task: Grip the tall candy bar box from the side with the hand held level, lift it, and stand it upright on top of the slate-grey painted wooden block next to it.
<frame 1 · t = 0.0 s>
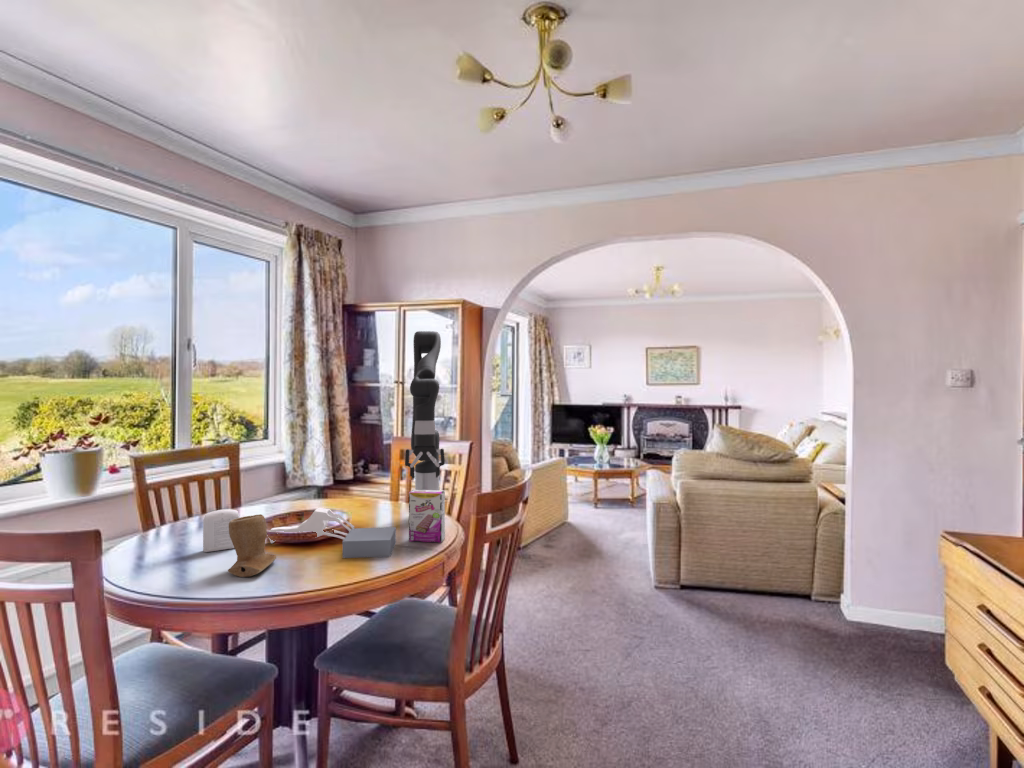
hand: (425, 477, 199), 17 cm above the table, tool pointing down, fingers open, 8 cm apart
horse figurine: (310, 542, 180), on the table
candy bar box: (427, 541, 180), on the table
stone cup: (249, 570, 154), on the table
slate block: (370, 549, 170), on the table
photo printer: (221, 549, 172), on the table
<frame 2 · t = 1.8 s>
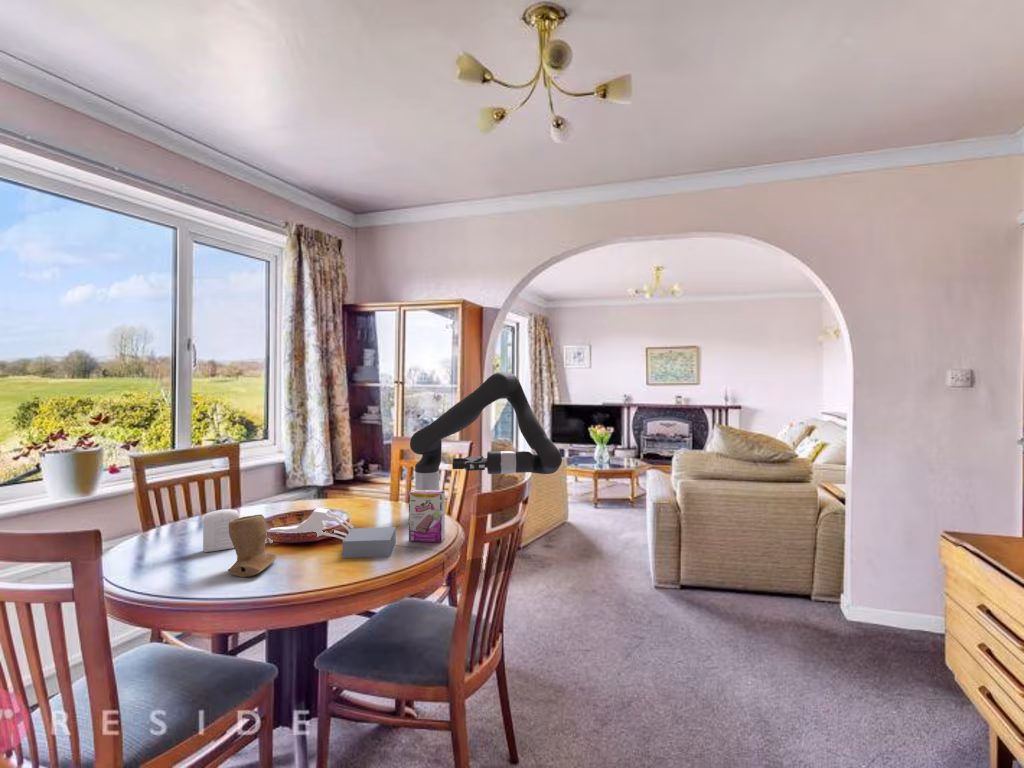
hand: (452, 463, 180), 25 cm above the table, tool horizontal, fingers open, 8 cm apart
nothing on the table moved.
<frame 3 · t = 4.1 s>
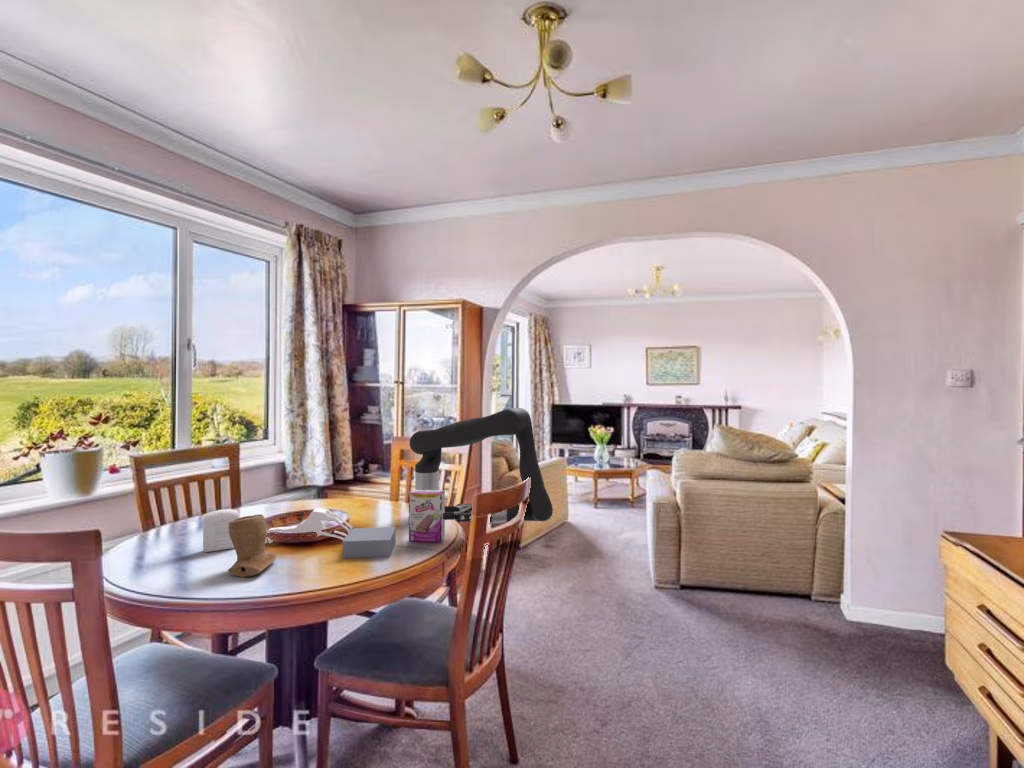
hand: (443, 512, 180), 9 cm above the table, tool horizontal, fingers open, 8 cm apart
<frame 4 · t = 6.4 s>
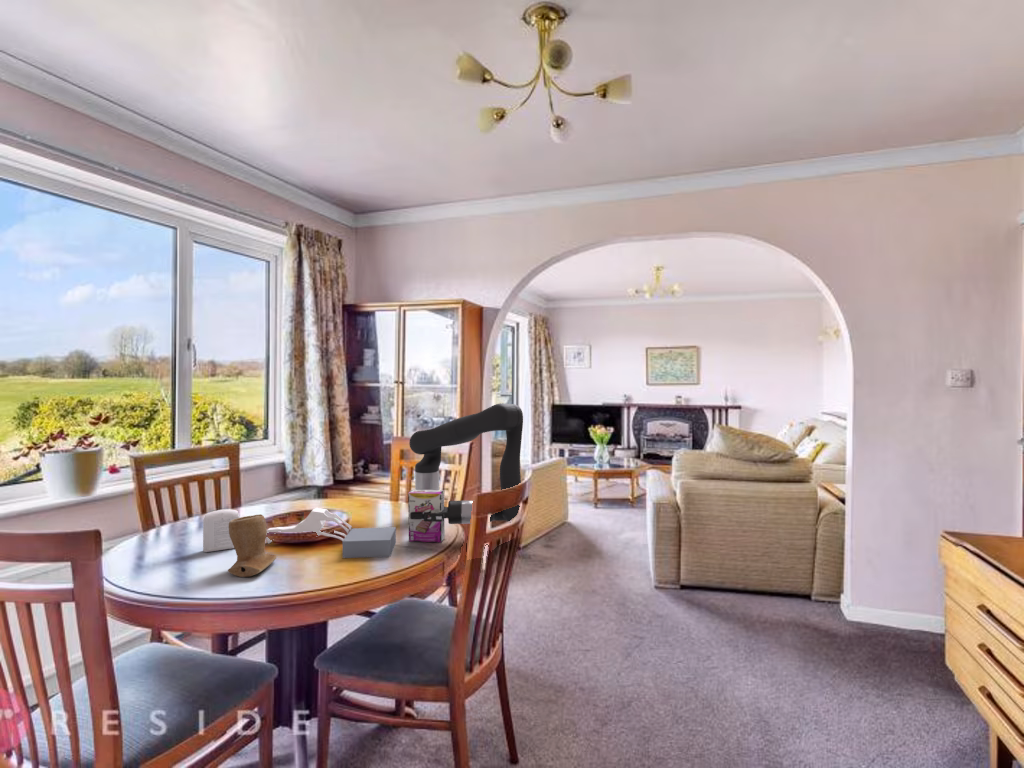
hand: (411, 513, 180), 9 cm above the table, tool horizontal, fingers closed on candy bar box, 5 cm apart
candy bar box: (426, 540, 180), on the table, touching gripper
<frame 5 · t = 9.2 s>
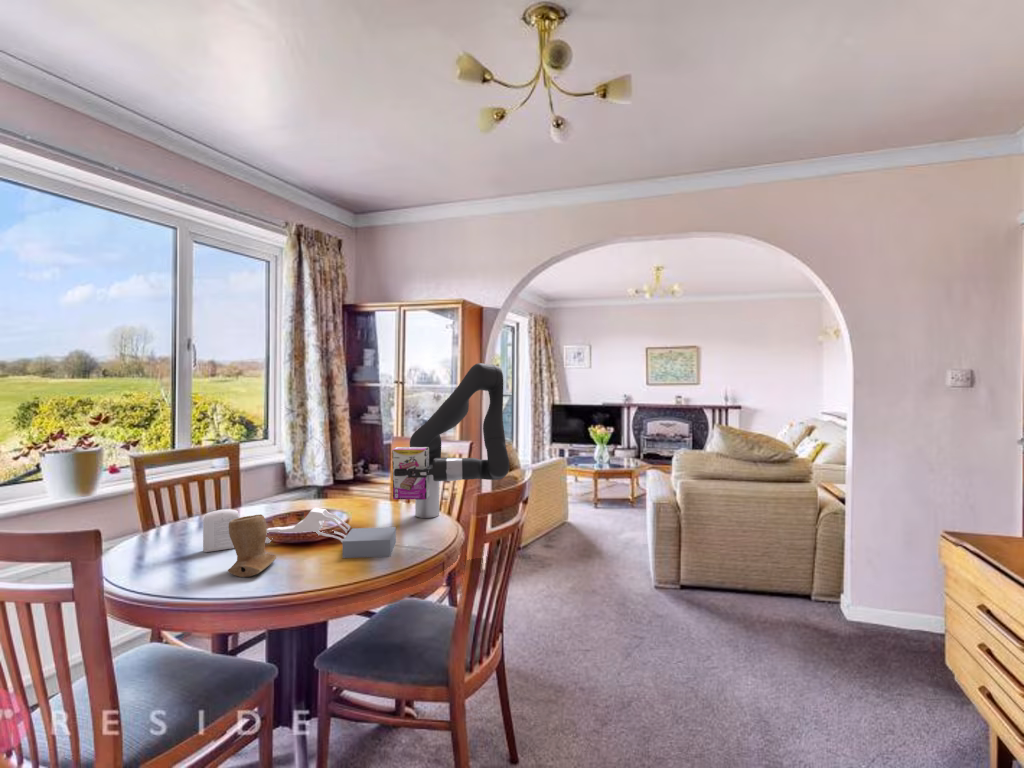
hand: (395, 470, 176), 24 cm above the table, tool horizontal, fingers closed on candy bar box, 5 cm apart
candy bar box: (411, 498, 177), point 15 cm above the table, touching gripper
when the fingers open (15 cm above the table, at t = 12.1 s): candy bar box drops 1 cm, resting on slate block.
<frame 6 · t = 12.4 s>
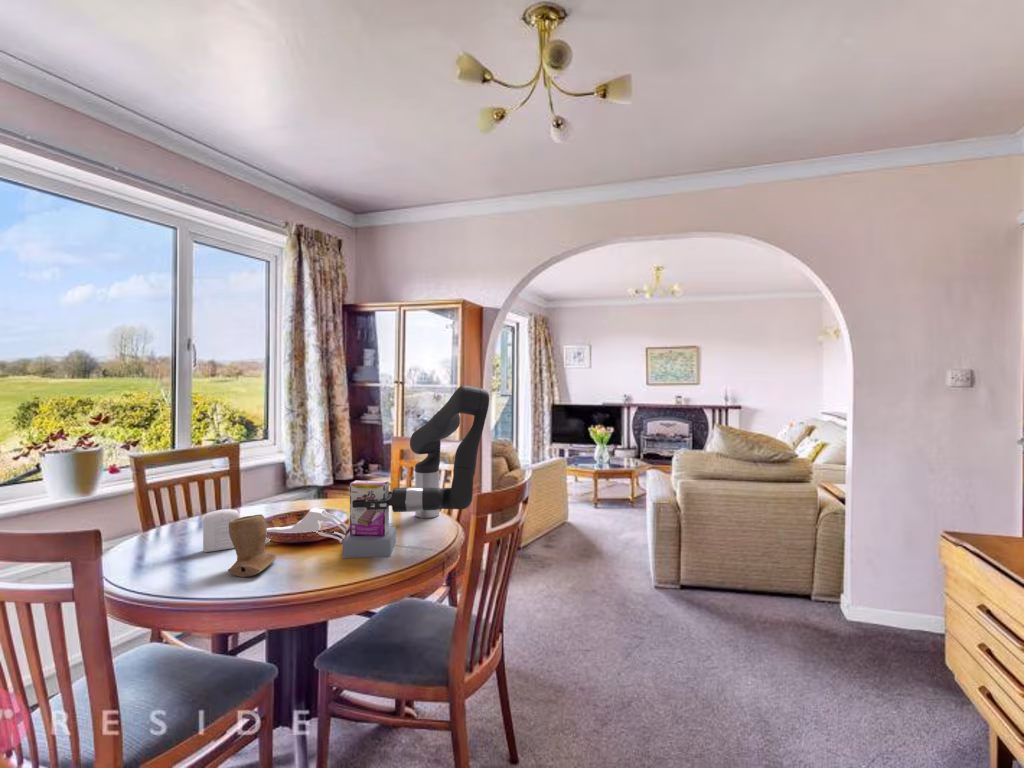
hand: (355, 500, 170), 16 cm above the table, tool horizontal, fingers open, 8 cm apart
candy bar box: (369, 534, 170), point 5 cm above the table, touching slate block
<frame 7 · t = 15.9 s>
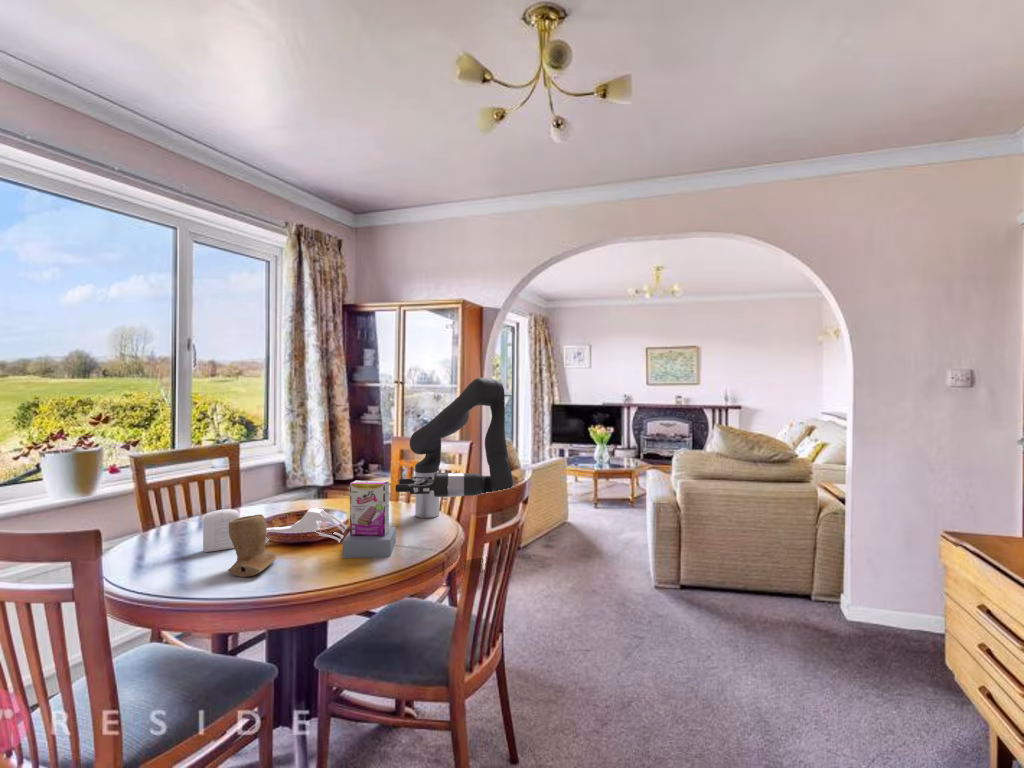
hand: (397, 485, 171), 20 cm above the table, tool horizontal, fingers open, 8 cm apart
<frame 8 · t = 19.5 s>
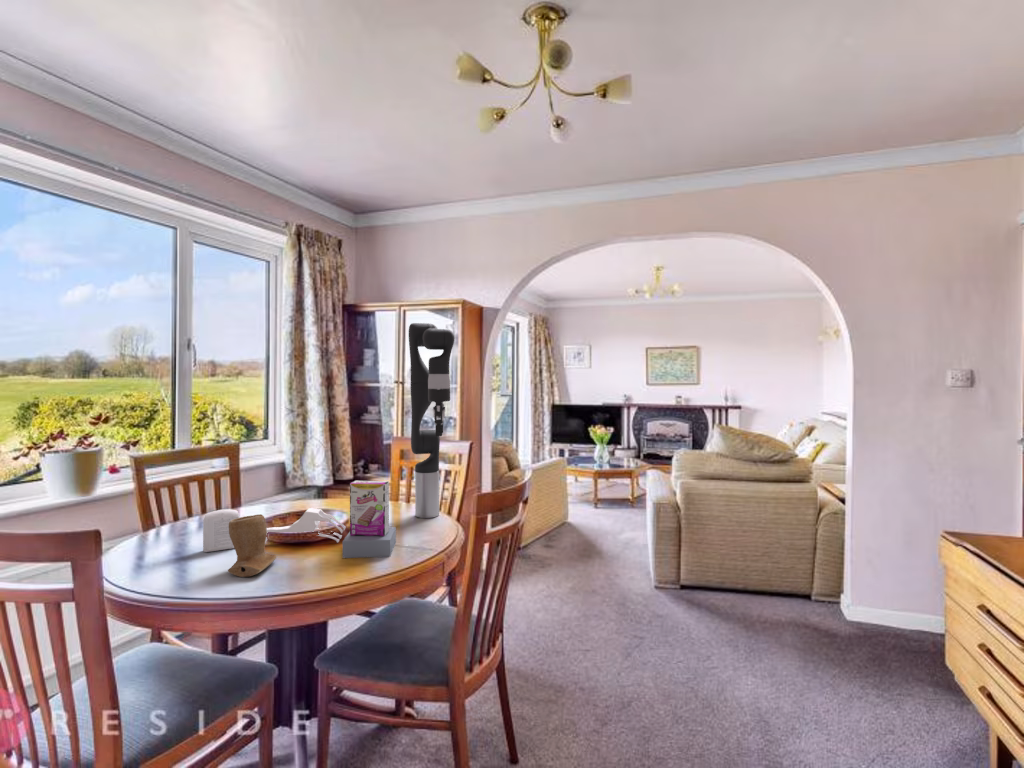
hand: (439, 434, 187), 34 cm above the table, tool pointing down, fingers open, 8 cm apart
at the end: candy bar box inside the target area on the slate block (0.3 cm from its centre), point 4.8 cm above the slate block's base; candy bar box tilted 0°; the gripper is holding nothing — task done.
